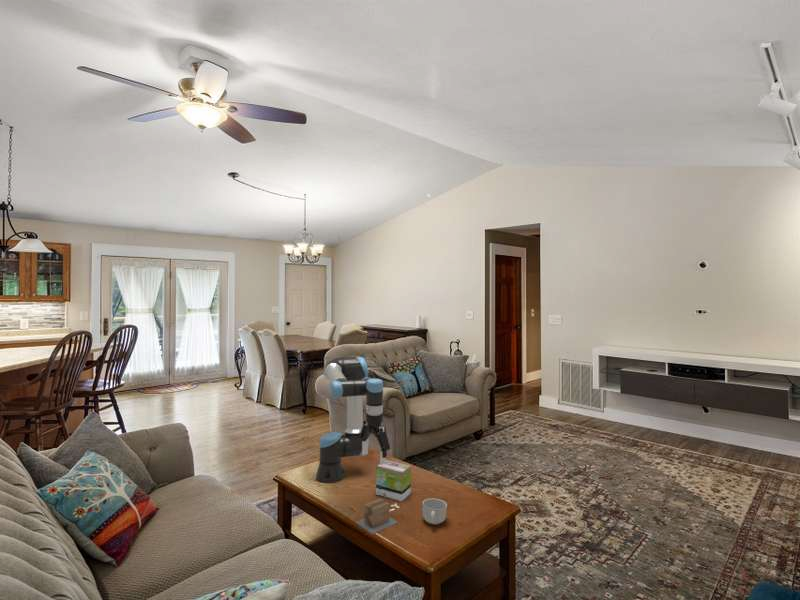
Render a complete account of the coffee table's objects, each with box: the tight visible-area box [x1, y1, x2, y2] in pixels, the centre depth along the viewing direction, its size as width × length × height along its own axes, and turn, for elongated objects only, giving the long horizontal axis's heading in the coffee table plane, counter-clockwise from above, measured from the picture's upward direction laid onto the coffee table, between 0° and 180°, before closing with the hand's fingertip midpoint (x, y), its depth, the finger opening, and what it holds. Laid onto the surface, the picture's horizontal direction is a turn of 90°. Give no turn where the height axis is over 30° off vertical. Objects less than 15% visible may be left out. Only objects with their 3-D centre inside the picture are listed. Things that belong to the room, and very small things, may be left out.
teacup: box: [422, 497, 448, 526], centre depth 191 cm, size 14×11×8 cm
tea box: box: [375, 459, 412, 502], centre depth 218 cm, size 15×10×15 cm, turn 62°
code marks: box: [389, 502, 400, 513], centre depth 204 cm, size 4×8×1 cm, turn 131°
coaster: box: [355, 516, 399, 535], centre depth 191 cm, size 12×14×1 cm
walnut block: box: [364, 497, 390, 528], centre depth 191 cm, size 6×9×8 cm, turn 131°
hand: (373, 459), depth 199 cm, fingers open, 13 cm apart
